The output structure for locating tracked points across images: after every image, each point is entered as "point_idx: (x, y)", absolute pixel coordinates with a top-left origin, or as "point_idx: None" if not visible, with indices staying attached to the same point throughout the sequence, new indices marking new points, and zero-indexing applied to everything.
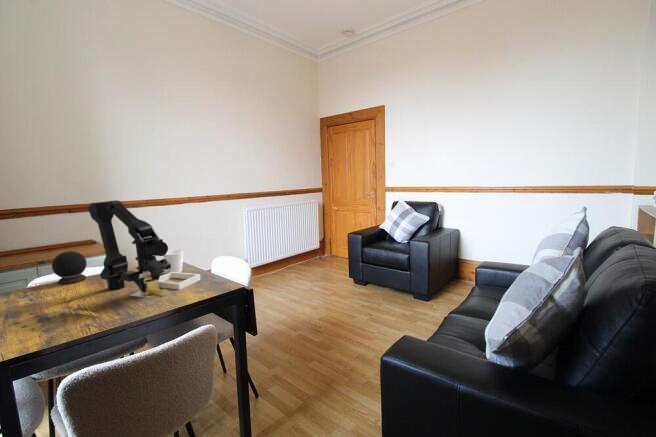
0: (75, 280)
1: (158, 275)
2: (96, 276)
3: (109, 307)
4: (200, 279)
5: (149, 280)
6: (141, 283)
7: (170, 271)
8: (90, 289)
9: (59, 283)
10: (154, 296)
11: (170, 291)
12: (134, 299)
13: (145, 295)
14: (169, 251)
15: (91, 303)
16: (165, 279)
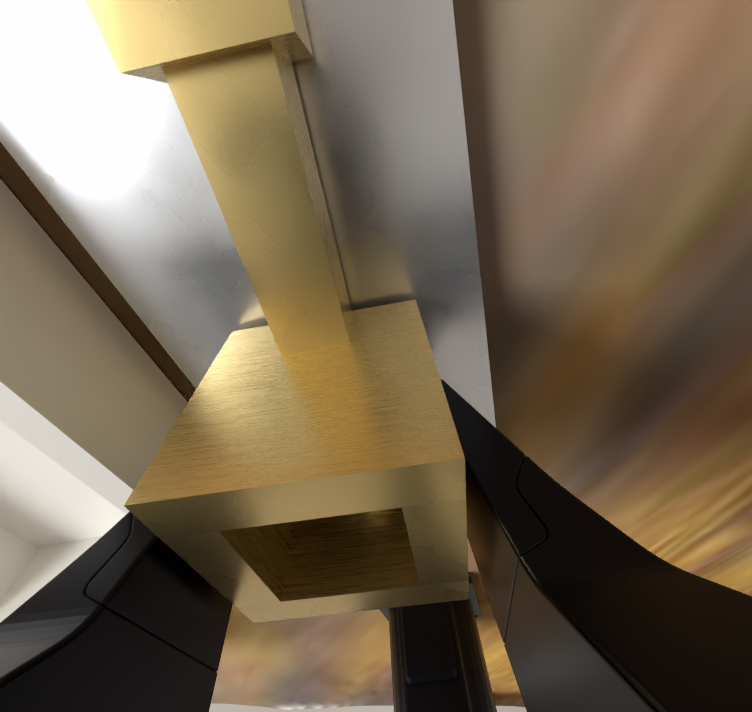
0: None
1: (23, 645)
2: (379, 699)
3: (744, 377)
4: None
5: (286, 571)
6: (575, 513)
7: None
8: (483, 645)
9: (495, 704)
10: (384, 150)
11: (53, 118)
12: (510, 377)
13: (431, 333)
14: None
15: (655, 530)
16: None
